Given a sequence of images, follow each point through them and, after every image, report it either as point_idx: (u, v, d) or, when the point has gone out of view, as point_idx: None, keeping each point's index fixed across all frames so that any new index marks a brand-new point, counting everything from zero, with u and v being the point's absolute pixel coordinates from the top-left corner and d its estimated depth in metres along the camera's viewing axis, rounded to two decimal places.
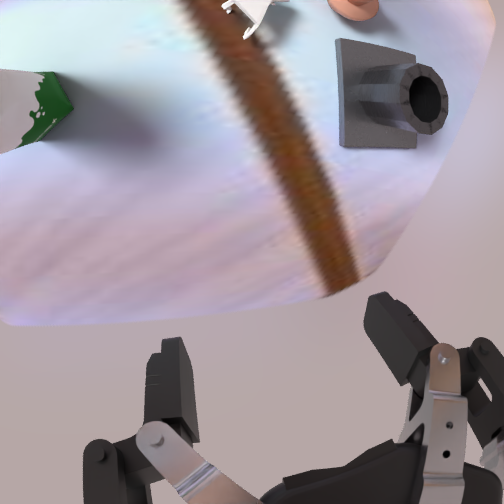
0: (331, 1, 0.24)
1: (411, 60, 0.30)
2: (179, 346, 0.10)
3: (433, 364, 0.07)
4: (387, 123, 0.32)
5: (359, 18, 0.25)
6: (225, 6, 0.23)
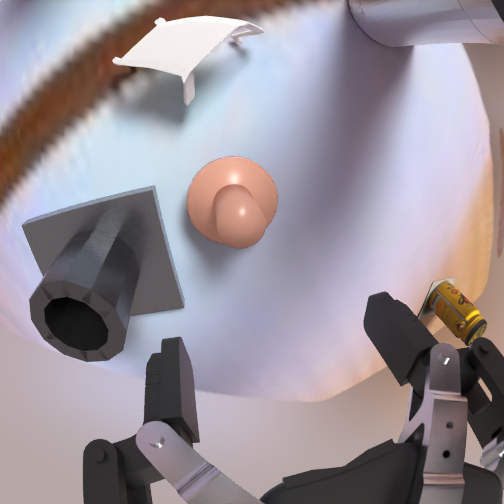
0: (206, 166, 0.23)
1: (172, 302, 0.31)
2: (179, 346, 0.10)
3: (433, 364, 0.07)
4: None
5: (190, 213, 0.24)
6: (157, 21, 0.16)
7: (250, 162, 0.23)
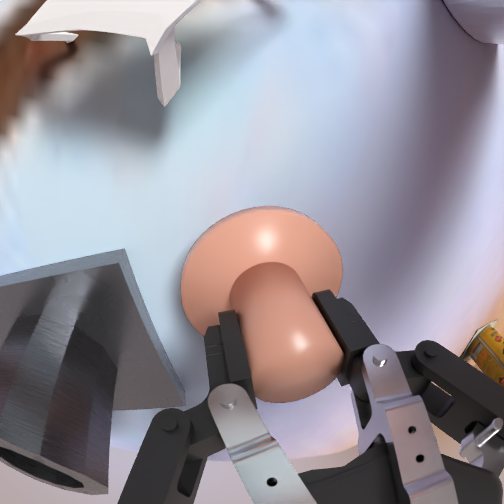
0: (217, 229, 0.12)
1: (168, 401, 0.20)
2: (236, 317, 0.11)
3: (370, 370, 0.08)
4: None
5: (188, 312, 0.13)
6: None
7: (303, 221, 0.12)
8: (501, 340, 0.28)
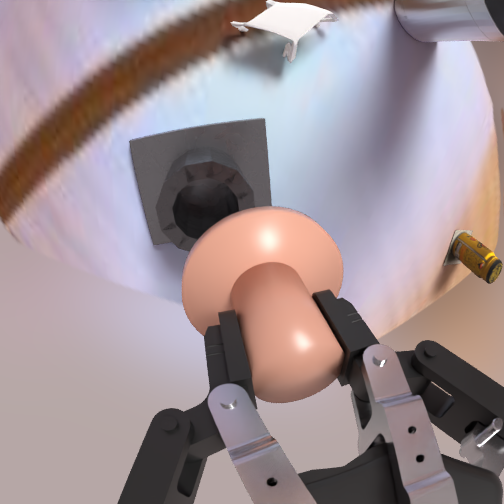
0: (218, 229, 0.12)
1: None
2: (236, 317, 0.11)
3: (370, 370, 0.08)
4: None
5: (188, 312, 0.13)
6: (269, 1, 0.22)
7: (304, 221, 0.12)
8: (475, 240, 0.44)
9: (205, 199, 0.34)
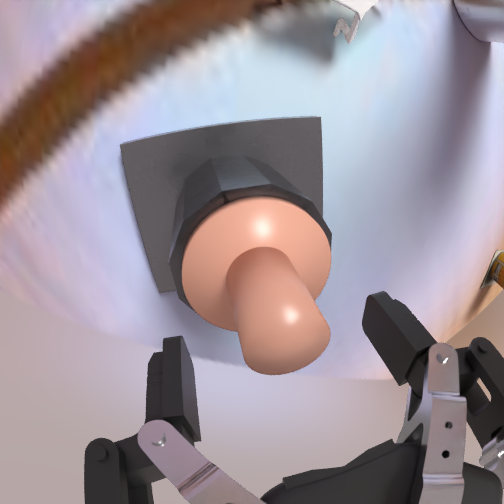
0: (215, 216, 0.13)
1: None
2: (180, 345, 0.10)
3: (431, 364, 0.07)
4: (177, 209, 0.19)
5: (188, 294, 0.14)
6: None
7: (293, 209, 0.13)
8: None
9: None
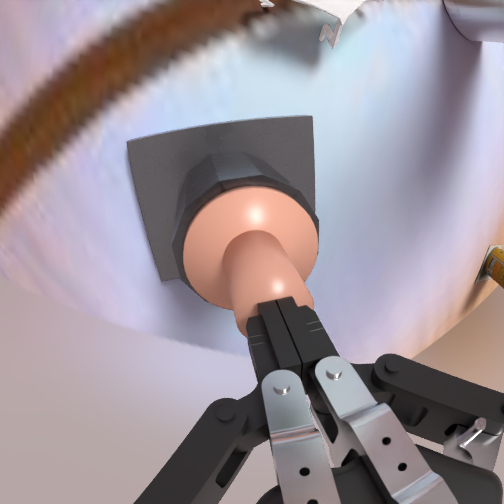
0: (213, 203, 0.15)
1: None
2: (277, 307, 0.11)
3: (326, 386, 0.08)
4: (179, 200, 0.21)
5: (188, 273, 0.16)
6: None
7: (282, 197, 0.15)
8: None
9: None
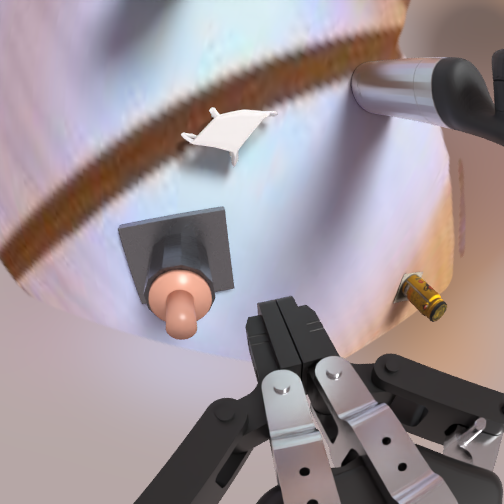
0: (159, 278, 0.32)
1: (226, 284, 0.47)
2: (277, 307, 0.11)
3: (326, 386, 0.08)
4: (148, 265, 0.38)
5: (151, 307, 0.34)
6: (211, 110, 0.32)
7: (189, 276, 0.33)
8: (423, 282, 0.57)
9: None
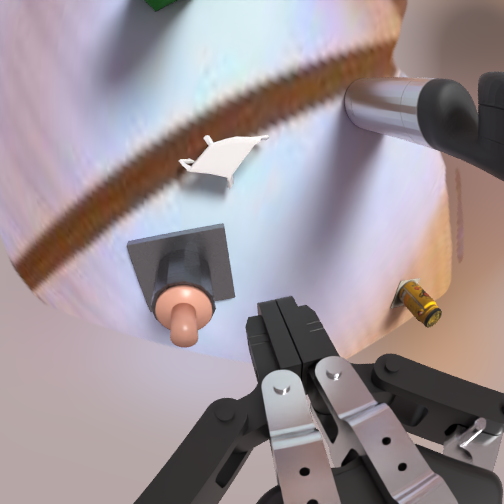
0: (164, 293, 0.36)
1: (228, 294, 0.51)
2: (277, 307, 0.11)
3: (326, 386, 0.08)
4: (155, 279, 0.42)
5: (158, 318, 0.38)
6: (206, 138, 0.35)
7: (191, 291, 0.37)
8: (419, 289, 0.59)
9: None
